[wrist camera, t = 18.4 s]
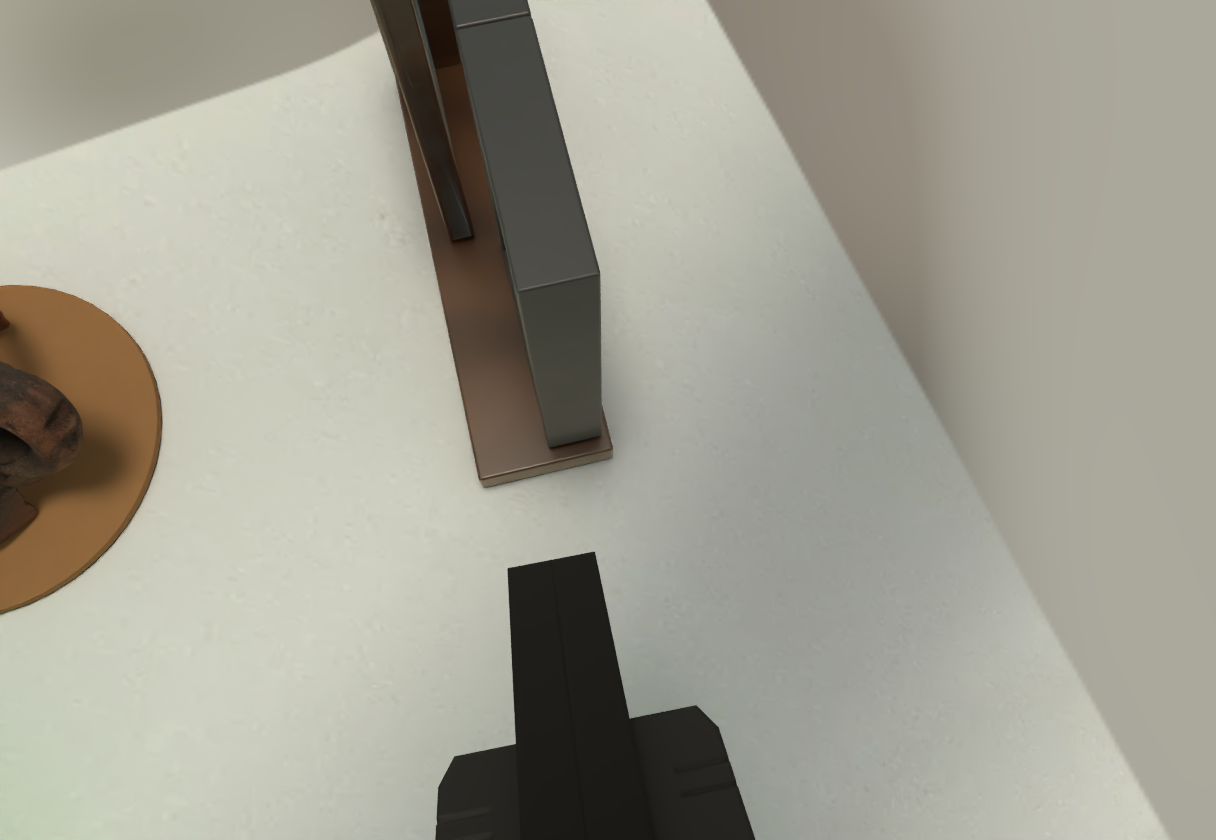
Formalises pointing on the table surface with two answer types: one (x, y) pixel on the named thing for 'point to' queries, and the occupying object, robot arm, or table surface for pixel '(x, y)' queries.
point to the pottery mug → (31, 439)
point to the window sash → (535, 212)
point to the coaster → (112, 428)
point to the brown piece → (470, 251)
